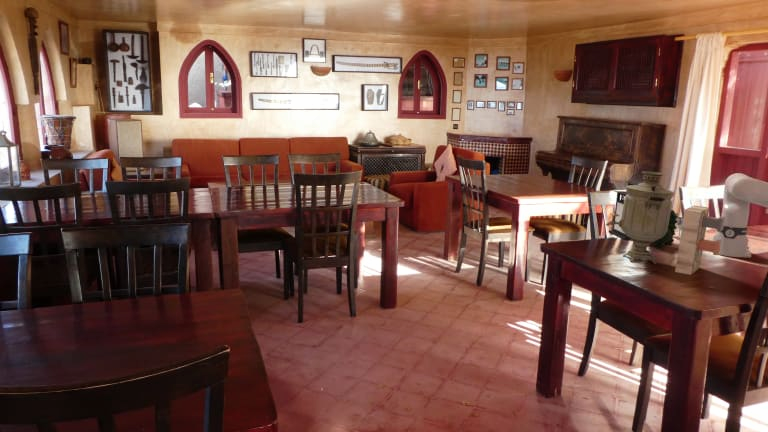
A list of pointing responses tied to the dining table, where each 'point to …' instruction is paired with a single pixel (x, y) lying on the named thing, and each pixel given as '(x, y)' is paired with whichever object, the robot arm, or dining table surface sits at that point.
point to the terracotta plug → (709, 246)
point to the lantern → (620, 213)
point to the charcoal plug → (713, 222)
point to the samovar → (645, 214)
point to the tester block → (691, 240)
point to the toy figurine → (668, 236)
